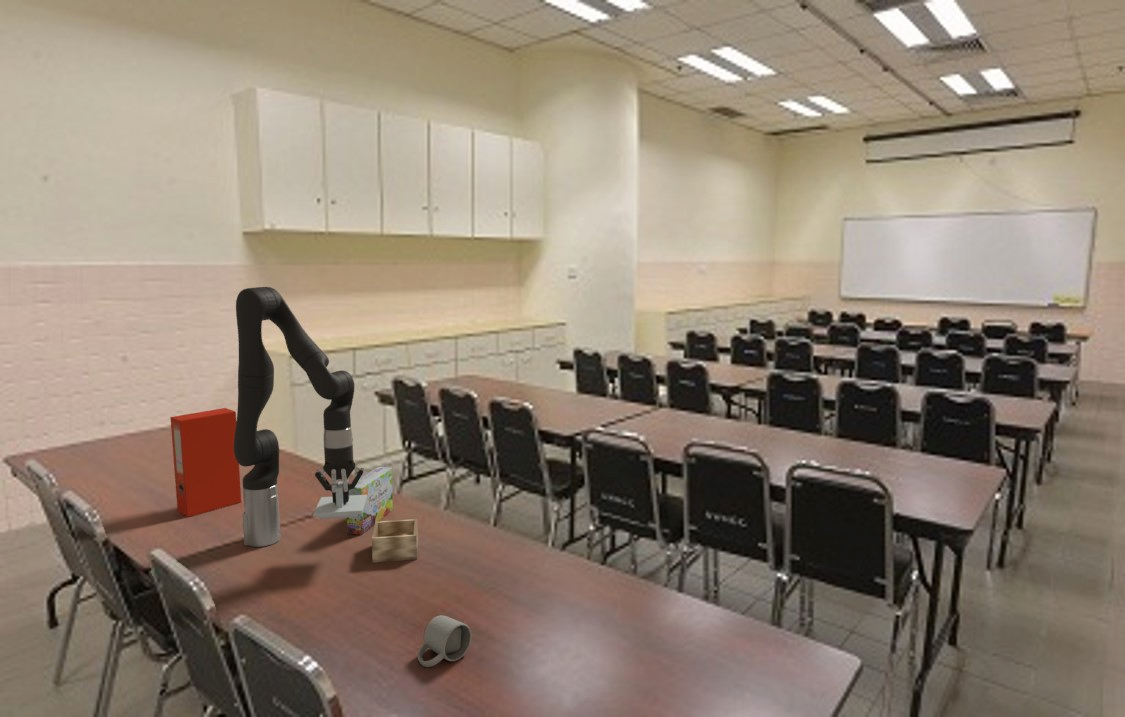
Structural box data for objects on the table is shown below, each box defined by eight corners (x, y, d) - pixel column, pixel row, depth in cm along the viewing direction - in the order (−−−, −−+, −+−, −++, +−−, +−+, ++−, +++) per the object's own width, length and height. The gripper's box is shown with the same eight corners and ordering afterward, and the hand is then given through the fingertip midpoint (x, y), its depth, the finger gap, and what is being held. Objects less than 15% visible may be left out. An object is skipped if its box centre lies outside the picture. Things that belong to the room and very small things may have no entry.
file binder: (241, 502, 228) (235, 411, 223) (188, 517, 215) (180, 420, 210) (230, 497, 233) (224, 407, 228) (177, 511, 220) (169, 416, 215)
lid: (313, 521, 180) (312, 493, 179) (321, 504, 192) (320, 478, 191) (362, 518, 182) (361, 491, 181) (367, 501, 195) (366, 476, 193)
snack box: (363, 535, 203) (361, 488, 201) (346, 534, 204) (344, 486, 202) (394, 510, 224) (393, 466, 221) (378, 508, 225) (377, 465, 222)
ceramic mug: (447, 637, 150) (446, 605, 148) (472, 651, 144) (471, 618, 143) (408, 660, 141) (407, 626, 140) (434, 675, 136) (432, 641, 135)
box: (372, 562, 185) (371, 538, 184) (376, 544, 197) (375, 521, 196) (416, 559, 187) (416, 535, 186) (417, 541, 199) (417, 519, 198)
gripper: (309, 448, 180) (313, 510, 182) (362, 446, 182) (365, 506, 185) (314, 441, 187) (317, 500, 189) (365, 438, 189) (367, 497, 192)
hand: (341, 503), depth 187 cm, fingers closed on lid, 1 cm apart
